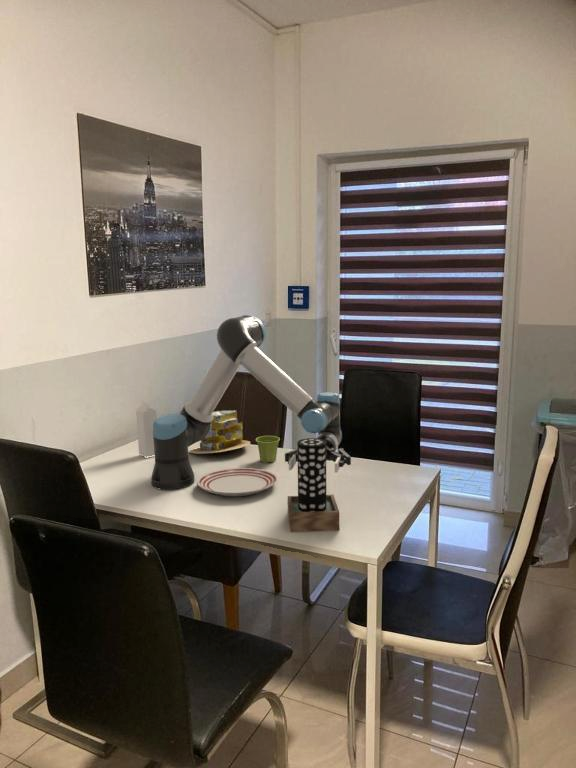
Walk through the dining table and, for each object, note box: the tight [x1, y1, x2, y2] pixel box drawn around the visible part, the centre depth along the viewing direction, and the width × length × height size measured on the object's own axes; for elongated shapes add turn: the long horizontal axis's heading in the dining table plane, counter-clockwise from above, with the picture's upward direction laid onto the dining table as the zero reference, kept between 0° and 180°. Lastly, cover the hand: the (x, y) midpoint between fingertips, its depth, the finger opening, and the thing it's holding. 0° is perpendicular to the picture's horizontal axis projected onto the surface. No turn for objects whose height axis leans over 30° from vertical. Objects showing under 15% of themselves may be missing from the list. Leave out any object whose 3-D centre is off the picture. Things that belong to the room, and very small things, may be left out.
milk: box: [135, 401, 158, 457], centre depth 253 cm, size 6×6×22 cm
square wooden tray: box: [287, 494, 340, 533], centre depth 185 cm, size 14×14×6 cm
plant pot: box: [255, 435, 281, 463], centre depth 244 cm, size 9×9×9 cm
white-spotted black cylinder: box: [296, 437, 327, 512], centre depth 183 cm, size 8×8×20 cm
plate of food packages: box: [189, 409, 251, 455], centre depth 258 cm, size 25×25×17 cm
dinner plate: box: [196, 467, 279, 497], centre depth 216 cm, size 28×27×3 cm
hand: (312, 466), depth 183 cm, fingers open, 13 cm apart
